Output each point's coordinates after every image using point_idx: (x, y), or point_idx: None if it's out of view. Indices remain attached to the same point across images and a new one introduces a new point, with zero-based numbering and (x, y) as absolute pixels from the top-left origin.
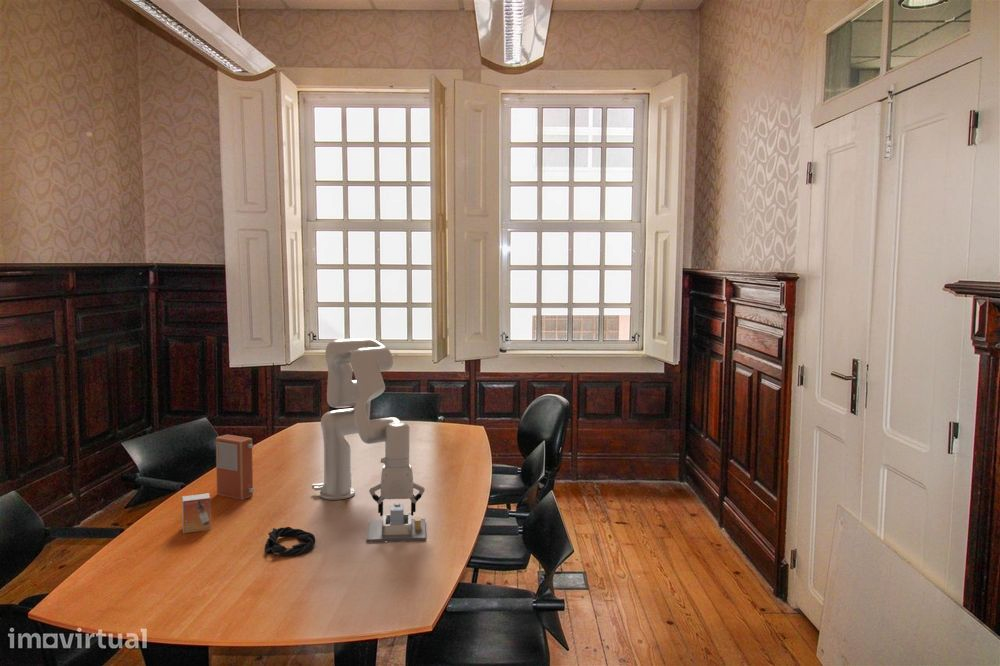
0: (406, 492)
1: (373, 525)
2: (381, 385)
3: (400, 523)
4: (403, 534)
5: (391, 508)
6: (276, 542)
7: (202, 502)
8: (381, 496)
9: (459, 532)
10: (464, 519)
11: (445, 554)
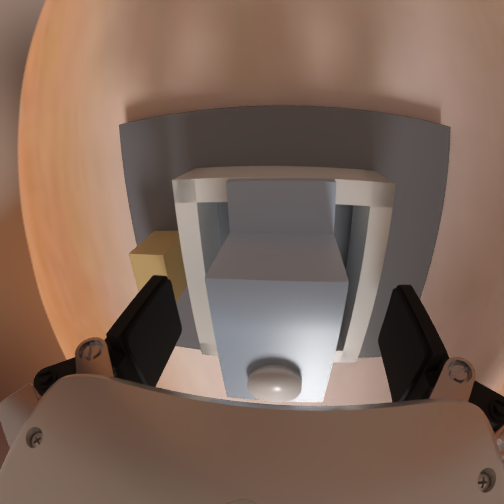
0: (73, 449)
1: None
2: None
3: (248, 181)
4: (240, 166)
5: (330, 334)
6: None
7: None
8: (485, 417)
9: (43, 221)
10: (66, 320)
11: (69, 18)
